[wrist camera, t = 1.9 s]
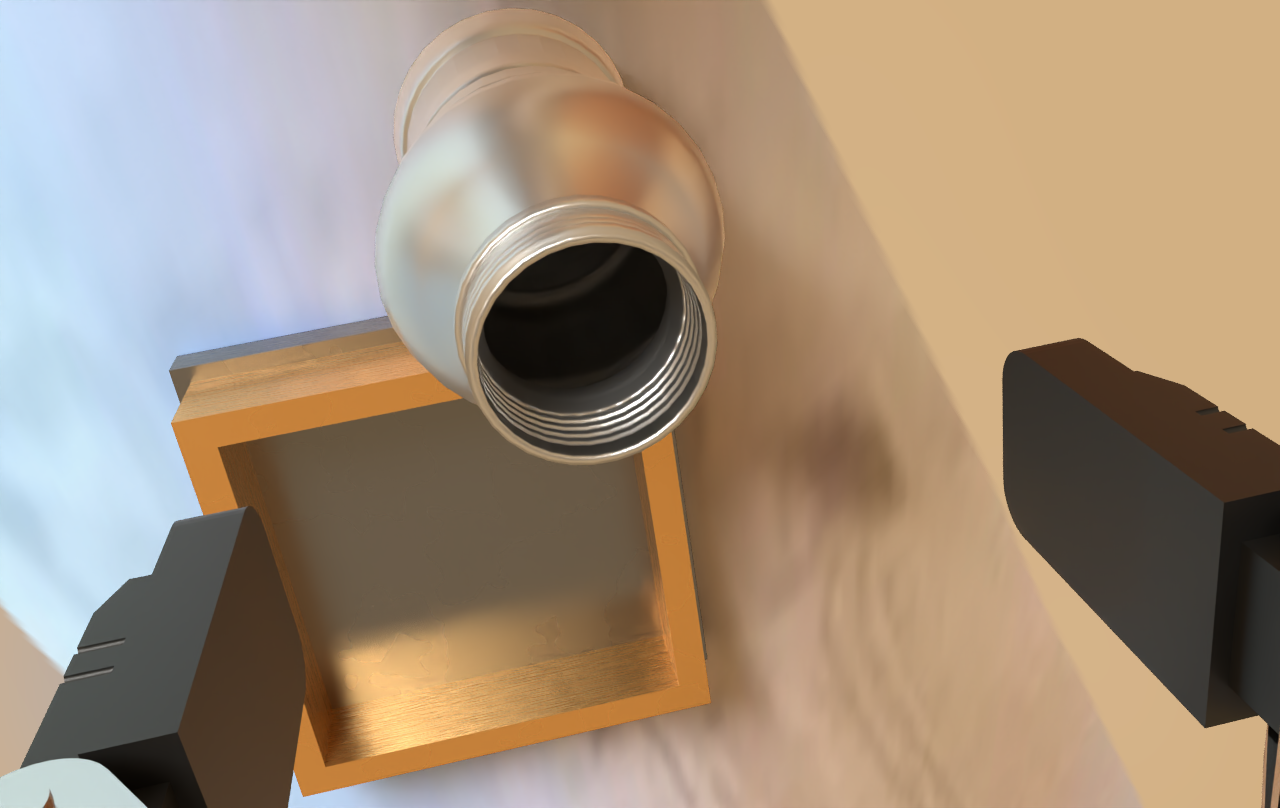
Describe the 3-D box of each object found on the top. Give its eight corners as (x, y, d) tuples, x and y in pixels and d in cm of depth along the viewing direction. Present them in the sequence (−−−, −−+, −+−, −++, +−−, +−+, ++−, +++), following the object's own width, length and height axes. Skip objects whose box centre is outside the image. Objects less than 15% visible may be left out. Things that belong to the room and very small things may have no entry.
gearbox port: (176, 356, 36) (147, 410, 32) (645, 266, 37) (670, 308, 33) (304, 729, 42) (292, 811, 38) (700, 640, 43) (726, 711, 40)
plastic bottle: (657, 136, 35) (897, 381, 17) (482, 263, 36) (538, 626, 18) (534, -48, 33) (667, 15, 15) (347, 93, 33) (254, 320, 15)
